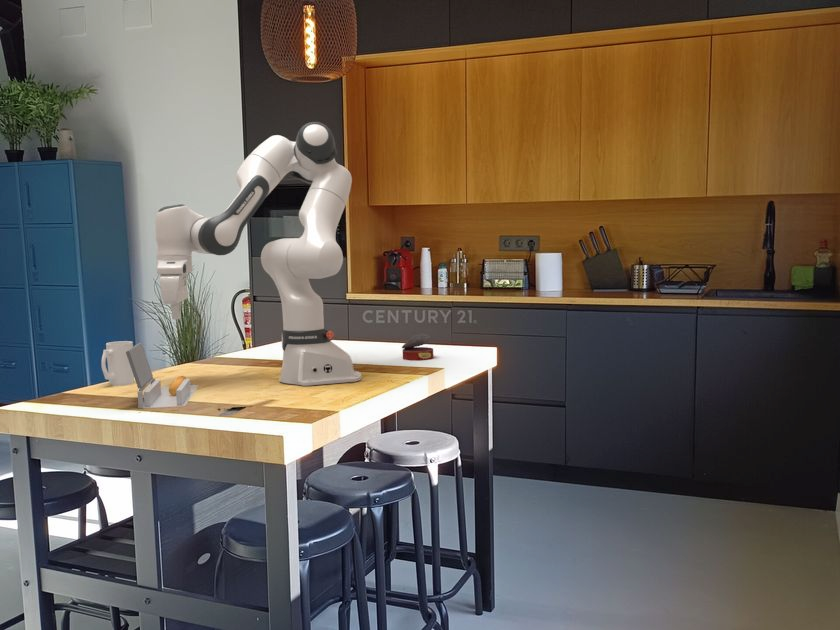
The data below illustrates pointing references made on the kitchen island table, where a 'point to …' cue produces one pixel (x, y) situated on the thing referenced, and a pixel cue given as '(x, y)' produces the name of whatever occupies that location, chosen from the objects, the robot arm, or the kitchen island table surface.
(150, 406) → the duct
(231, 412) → the knife
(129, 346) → the mug
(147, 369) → the lid
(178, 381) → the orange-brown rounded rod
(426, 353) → the canned food
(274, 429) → the kitchen island table surface
